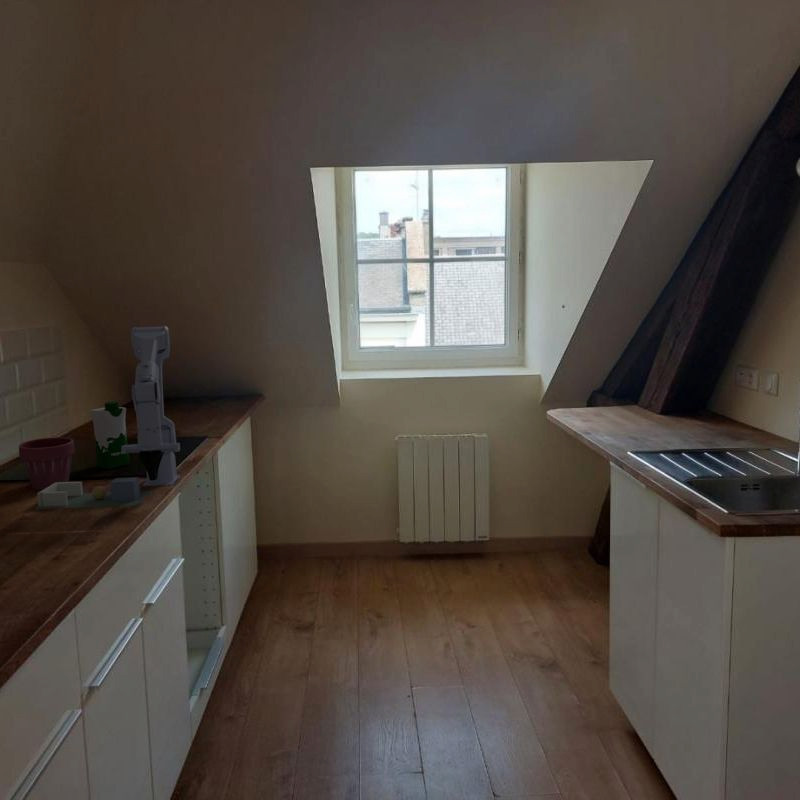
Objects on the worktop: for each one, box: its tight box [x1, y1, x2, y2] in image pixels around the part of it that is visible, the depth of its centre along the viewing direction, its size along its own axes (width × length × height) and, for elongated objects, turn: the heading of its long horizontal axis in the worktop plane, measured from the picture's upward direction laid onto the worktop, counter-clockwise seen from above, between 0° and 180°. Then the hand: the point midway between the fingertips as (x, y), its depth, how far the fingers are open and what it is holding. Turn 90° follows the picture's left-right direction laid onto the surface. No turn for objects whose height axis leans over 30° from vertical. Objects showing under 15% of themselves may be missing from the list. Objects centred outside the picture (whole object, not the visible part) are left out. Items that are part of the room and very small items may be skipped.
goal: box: [37, 481, 84, 507], centre depth 198 cm, size 10×7×4 cm
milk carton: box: [89, 401, 131, 470], centre depth 235 cm, size 9×9×20 cm
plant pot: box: [18, 436, 76, 491], centre depth 213 cm, size 14×14×13 cm
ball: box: [91, 485, 107, 499], centre depth 198 cm, size 4×4×4 cm
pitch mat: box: [33, 490, 154, 510], centre depth 198 cm, size 13×26×1 cm, turn 90°
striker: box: [109, 476, 141, 501], centre depth 198 cm, size 4×6×5 cm, turn 90°
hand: (153, 479), depth 197 cm, fingers closed
